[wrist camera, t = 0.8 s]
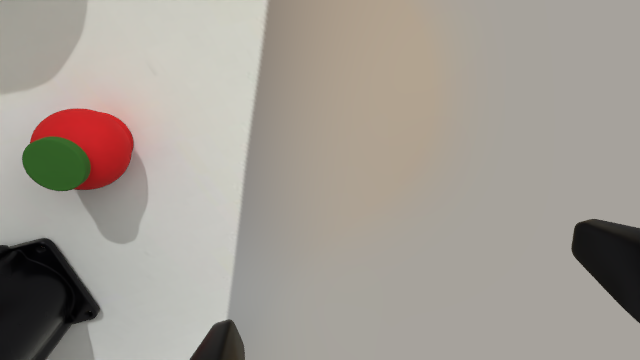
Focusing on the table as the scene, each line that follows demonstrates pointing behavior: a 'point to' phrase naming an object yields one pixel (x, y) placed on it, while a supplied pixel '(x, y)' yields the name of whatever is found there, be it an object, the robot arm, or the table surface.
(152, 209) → the table surface
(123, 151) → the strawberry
